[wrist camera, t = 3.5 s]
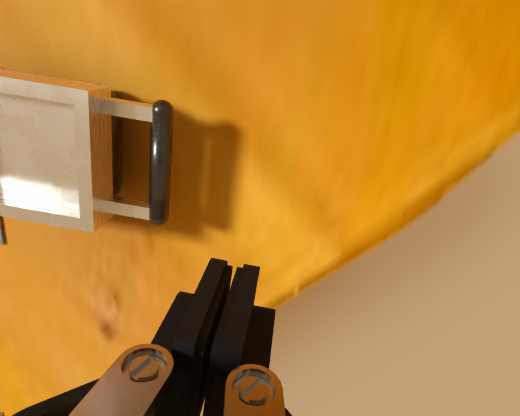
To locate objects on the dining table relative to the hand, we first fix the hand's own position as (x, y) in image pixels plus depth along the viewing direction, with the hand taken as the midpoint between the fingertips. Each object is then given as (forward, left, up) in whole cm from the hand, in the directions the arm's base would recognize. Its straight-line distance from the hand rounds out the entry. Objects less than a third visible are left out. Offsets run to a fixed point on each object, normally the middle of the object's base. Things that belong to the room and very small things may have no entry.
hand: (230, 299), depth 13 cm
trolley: (+12, -1, -13) cm, 18 cm away
